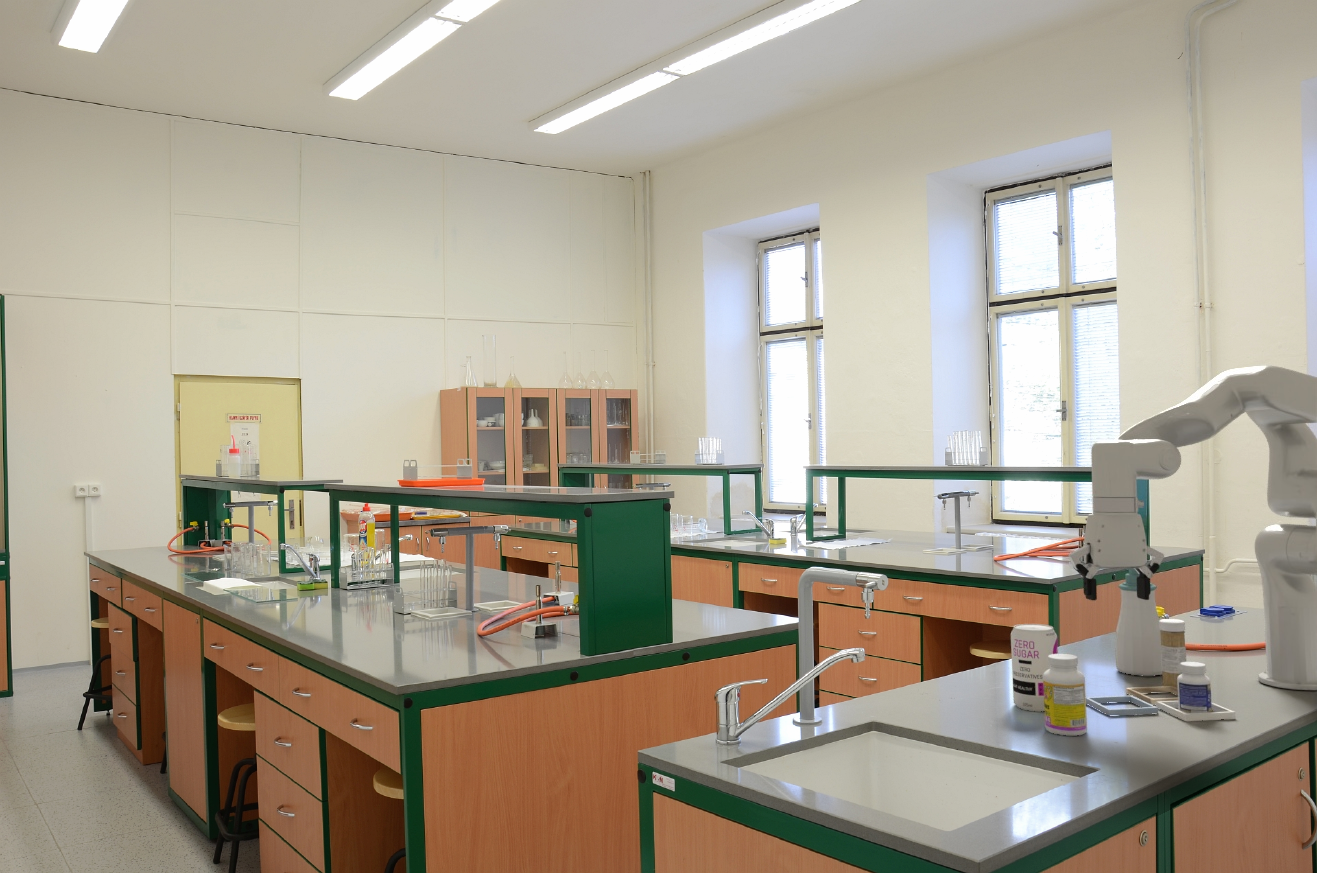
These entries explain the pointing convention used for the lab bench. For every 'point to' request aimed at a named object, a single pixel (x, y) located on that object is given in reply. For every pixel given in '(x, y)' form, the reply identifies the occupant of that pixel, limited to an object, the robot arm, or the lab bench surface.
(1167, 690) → the tray birch
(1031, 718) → the lab bench surface
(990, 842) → the lab bench surface
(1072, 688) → the supplement bottle
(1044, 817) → the lab bench surface
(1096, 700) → the tray slate
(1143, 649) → the soap bottle
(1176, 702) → the tray white
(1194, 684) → the pill bottle
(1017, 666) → the supplement can
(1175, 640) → the sprinkles bottle
